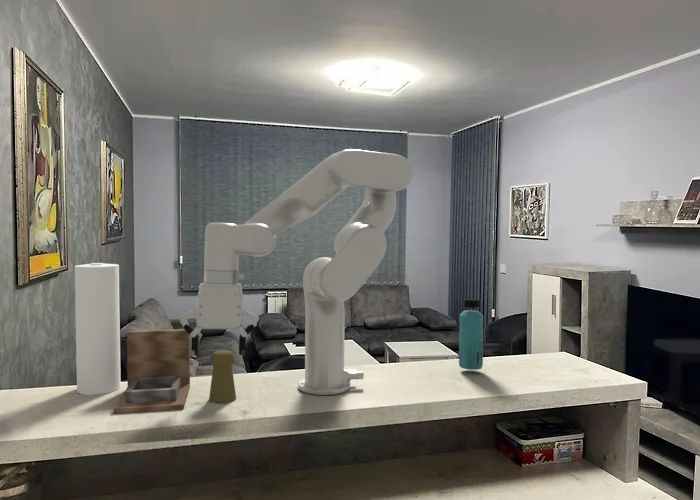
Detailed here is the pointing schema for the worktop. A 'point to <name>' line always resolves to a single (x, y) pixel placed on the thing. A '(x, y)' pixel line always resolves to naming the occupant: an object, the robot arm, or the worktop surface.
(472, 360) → the beverage bottle
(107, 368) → the cylinder container
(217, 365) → the cork
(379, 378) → the worktop surface
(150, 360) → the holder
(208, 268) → the robot arm
